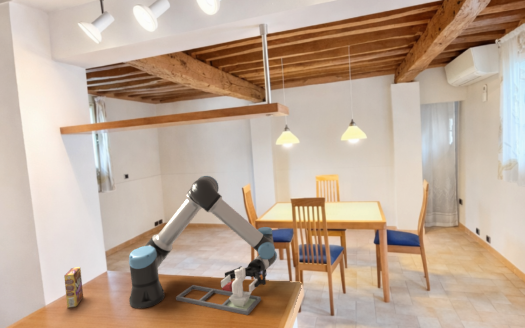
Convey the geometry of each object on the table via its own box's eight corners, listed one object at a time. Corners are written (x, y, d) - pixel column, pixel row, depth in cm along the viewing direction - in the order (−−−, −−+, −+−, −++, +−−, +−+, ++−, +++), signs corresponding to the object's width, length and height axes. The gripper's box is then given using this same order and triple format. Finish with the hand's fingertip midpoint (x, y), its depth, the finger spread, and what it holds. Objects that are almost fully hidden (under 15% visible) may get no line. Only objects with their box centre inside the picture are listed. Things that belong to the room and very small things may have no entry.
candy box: (77, 306, 142) (73, 274, 140) (67, 308, 141) (62, 275, 140) (84, 297, 150) (80, 266, 149) (74, 298, 149) (70, 267, 148)
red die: (222, 292, 145) (221, 283, 145) (227, 288, 149) (226, 279, 149) (229, 293, 144) (229, 284, 143) (234, 289, 147) (233, 280, 147)
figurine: (227, 308, 130) (225, 273, 129) (238, 296, 139) (235, 264, 138) (243, 310, 127) (240, 275, 126) (253, 299, 136) (250, 266, 135)
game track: (176, 300, 141) (175, 296, 141) (192, 287, 152) (192, 284, 152) (247, 315, 125) (247, 311, 125) (260, 300, 135) (260, 296, 135)
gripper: (282, 277, 143) (263, 300, 124) (236, 270, 154) (211, 290, 135) (281, 261, 142) (261, 282, 123) (235, 256, 153) (209, 274, 134)
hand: (235, 286), depth 129 cm, fingers open, 13 cm apart
